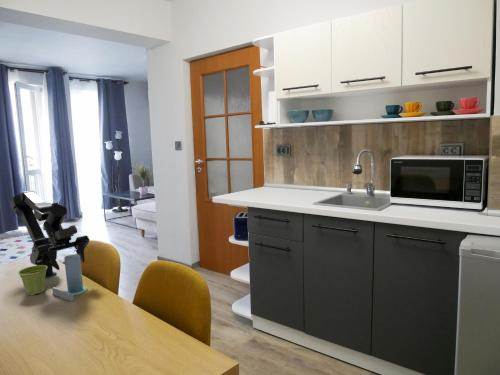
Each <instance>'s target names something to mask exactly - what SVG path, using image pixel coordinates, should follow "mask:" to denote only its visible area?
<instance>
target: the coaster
mask: <svg viewBox="0 0 500 375" xmlns="http://www.w3.org/2000/svg"><path fill="white" fill-rule="evenodd" d="M64 291H67V292H68V288H67V289H65V290H64ZM87 291H88V287H87V286H86V285H83V290H82V291H80V292H77V293H73V296H77V295H80V294H84V293H85V292H87Z"/></svg>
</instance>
